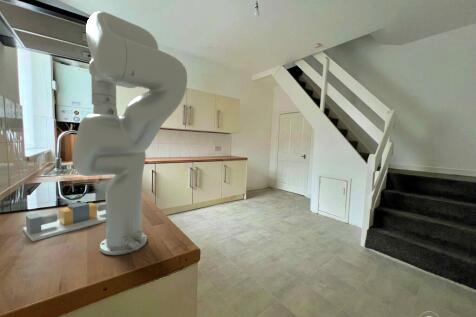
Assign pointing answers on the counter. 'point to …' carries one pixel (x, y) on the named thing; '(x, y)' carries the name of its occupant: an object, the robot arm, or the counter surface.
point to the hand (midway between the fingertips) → (104, 148)
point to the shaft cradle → (57, 224)
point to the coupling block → (77, 213)
